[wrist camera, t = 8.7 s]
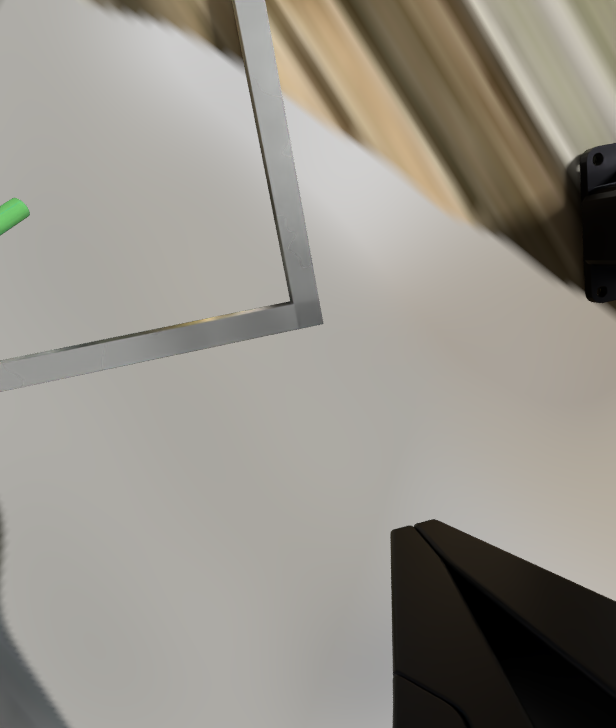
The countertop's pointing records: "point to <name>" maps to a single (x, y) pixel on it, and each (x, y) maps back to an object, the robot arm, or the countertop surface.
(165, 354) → the gray rectangular frame
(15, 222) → the gear
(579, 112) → the countertop surface
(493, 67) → the countertop surface
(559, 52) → the countertop surface
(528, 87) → the countertop surface
